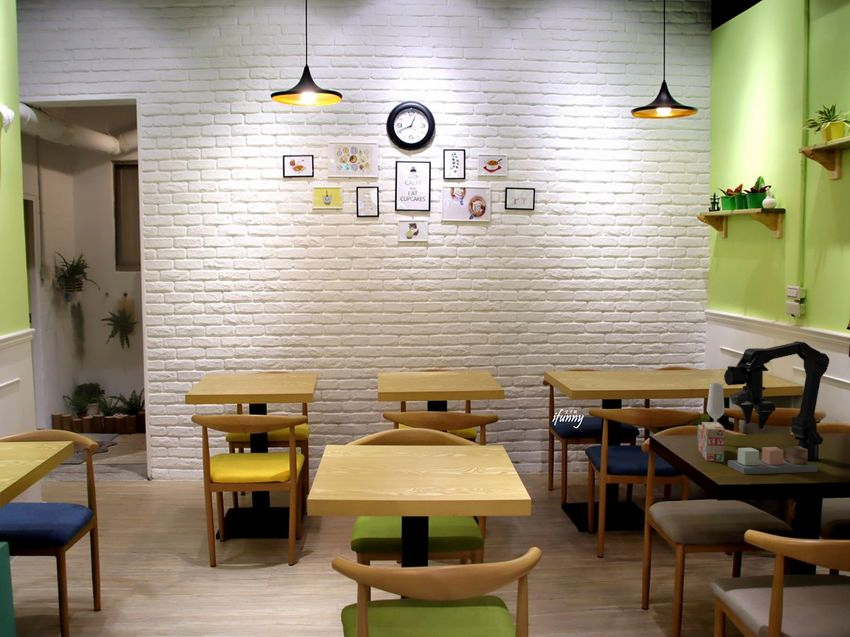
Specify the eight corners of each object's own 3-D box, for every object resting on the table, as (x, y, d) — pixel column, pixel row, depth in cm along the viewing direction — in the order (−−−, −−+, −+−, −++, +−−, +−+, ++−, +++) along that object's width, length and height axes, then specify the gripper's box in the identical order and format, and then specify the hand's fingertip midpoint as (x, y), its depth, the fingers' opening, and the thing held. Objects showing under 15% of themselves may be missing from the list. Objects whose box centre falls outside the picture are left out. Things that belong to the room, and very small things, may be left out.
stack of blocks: (696, 448, 306) (697, 416, 305) (713, 448, 305) (714, 417, 304) (706, 461, 285) (707, 428, 284) (724, 462, 284) (725, 428, 283)
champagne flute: (719, 445, 309) (721, 385, 308) (703, 443, 314) (704, 383, 312) (726, 442, 314) (728, 383, 313) (709, 440, 319) (711, 381, 317)
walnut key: (798, 460, 278) (799, 446, 278) (807, 463, 273) (807, 449, 273) (785, 460, 278) (786, 446, 277) (793, 464, 273) (794, 449, 272)
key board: (799, 463, 282) (799, 458, 282) (817, 471, 271) (817, 466, 271) (727, 465, 279) (727, 460, 278) (743, 474, 268) (743, 468, 268)
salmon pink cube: (775, 460, 277) (775, 446, 277) (783, 464, 272) (783, 450, 272) (761, 461, 277) (762, 447, 276) (769, 464, 272) (769, 450, 271)
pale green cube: (751, 461, 276) (751, 447, 276) (758, 465, 271) (759, 450, 271) (737, 461, 276) (738, 447, 275) (744, 465, 271) (745, 451, 270)
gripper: (720, 380, 291) (720, 422, 292) (746, 388, 273) (746, 433, 274) (749, 379, 292) (748, 420, 294) (776, 387, 274) (776, 431, 275)
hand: (754, 426), depth 284 cm, fingers open, 9 cm apart
